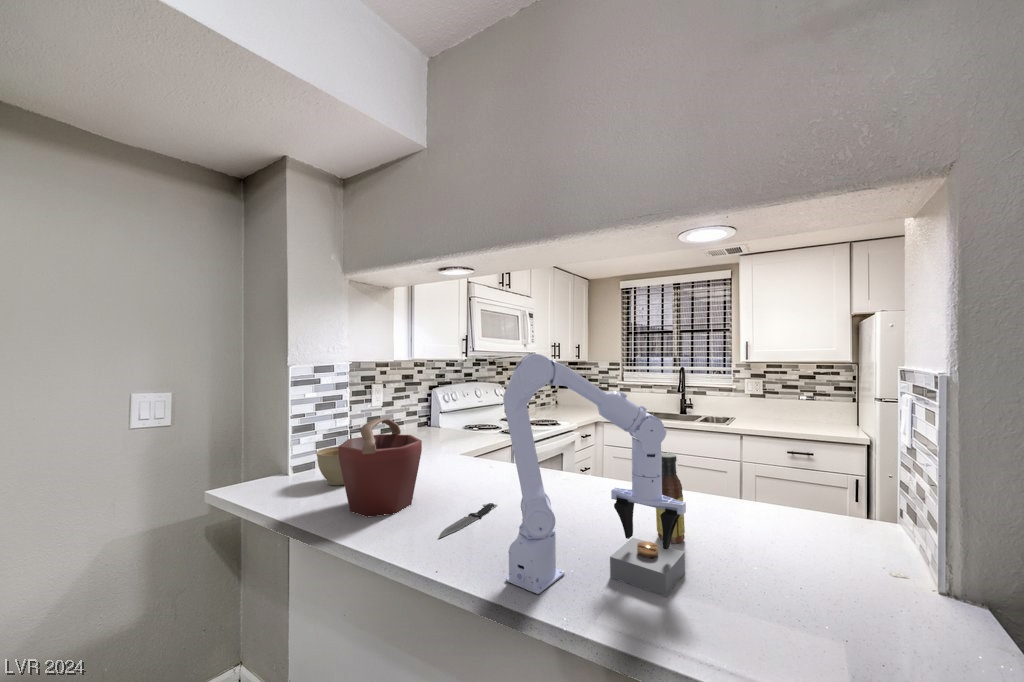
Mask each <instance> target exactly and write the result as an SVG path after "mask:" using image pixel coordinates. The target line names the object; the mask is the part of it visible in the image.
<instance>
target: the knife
mask: <svg viewBox="0 0 1024 682" xmlns="http://www.w3.org/2000/svg"><path fill="white" fill-rule="evenodd" d="M497 506H498V504H494V503H493V502H492V503H491V502H490V503H484V504H483V507H482V508H481V509H479V510H478V511H477V512H471V513H469V514H468V516H463V517H462V518H460V519H459V520H456V521H455V522H454V523H452V524H451V525H449V526H447V527H446V528H444V529H443V530H442V531H441V532H440V535H439V537H438V539H441V538H443V537H446V536H447V535H450V534H452V533H454V532H456V531H459V530H461V529H463V528H465V527H466V526H468V525H470V524H471V523H473V522H475V521H477V520H482V518H483V516H485V515H487V514H489V512H491V510H493V509H495V508H497Z"/></svg>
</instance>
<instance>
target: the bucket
mask: <svg viewBox="0 0 1024 682" xmlns="http://www.w3.org/2000/svg"><path fill="white" fill-rule="evenodd" d="M381 423H384V424H385V425H386V426H388V427H389V429H390V430H391V434H384V433H383V434H382V433H381V434H380V433H379V434H374V433H373V429H374V428H375V427H377V425H379V424H381ZM359 431H360V435H361V437H353V438H348V439H347V440H345V441H344V442H342V444H340V445H338V446H339V461H340V466H341V471H342V476H343V480H344V485H343V486H344V489H345V490H344V491H345V494H346V498H347V499H346V500H347V502H348V503H347V504H348V509H349V512H350V511H351V512H350V513H352V512H354V513H353V514H356V513H358V514H357V515H359V514H361V515H360V516H362V515H364V516H363V517H365V516H367V517H366V518H369V517H368V516H374V517H378V516H377V515H382V516H385V515H384V514H390V515H394V514H393V513H397V512H398V513H400V512H402V511H403V510H405V509H406V507H407V506H408V507H410V506H412V505H413V504H412V503H413V498H414V492H415V489H416V488H415V487H416V483H417V478H418V477H417V476H418V471H419V468H420V467H419V466H420V460H421V455H422V449H423V448H422V447H423V446H422V445H423V444H422V442H423V441H422V440H421V439H420V438H417V437H415V436H414V435H411V434H401V428H400V426H399V424H398V423H396V422H395V420H392V419H391V418H385V417H384V418H381V417H380V418H379V417H378V418H375V419H372V420H369V421H368V422H366V423H365V424H363V425H362V426H361V427H360V428H359ZM409 505H410V506H409ZM408 507H407V508H408ZM404 508H405V509H404ZM402 509H403V510H402ZM401 510H402V511H401ZM399 511H400V512H399ZM398 513H397V514H398Z"/></svg>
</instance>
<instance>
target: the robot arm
mask: <svg viewBox="0 0 1024 682" xmlns="http://www.w3.org/2000/svg"><path fill="white" fill-rule="evenodd" d="M547 384H550V385H552V386H555V387H556V386H563V387H567V388H568V389H570V390H571V391H573V392H575V393H577V394H578V395H580V396H581V397H583V398H585V399H586V400H588V401H590V402H592V404H594V405H596V407H597V410H598V414H599V415H600V416H601V417H602V418H604V419H605V420H607V421H608V422H610V423H611V424H613V425H615V426H616V427H618V428H619V429H621V430H623V431H624V432H626V433H629V435H630V436H631V488H620V487H614V488H612V489H611V492H610V493H611V494H610V495H611V497H610V498H611V500H614V501H615V500H616V501H615V503H613V507H614V510H615V511H616V512H617V515H618V517H619V519H620V522H621V525H622V528H623V532H624V535H625V539H626V540H630V539H631V538H633V536H634V535H633V534H634V509H635V504H636V505H642V506H647V507H651V508H655V509H656V508H659V509H663V510H665V512H663V513H662V514H661V515H660V517H661V522H662V529H663V540H662V546H663V549H666V550H667V549H668V548H671V544H672V543H671V538H672V534H673V531H674V528H675V525H676V523H677V521H678V519H679V517H680V515H683V514H684V515H685V514H686V511H687V509H686V508H687V507H686V506H687V503H686V502H685V501H684V500H683V501H679V500H676V499H673V498H670V497H667V496H664V495H662V453H663V452H662V443H663V442H664V440H665V438H666V436H667V430H666V429H665V425H664V423H663V421H662V420H661V419H660V418H659V417H657V416H655V415H653V414H651V413H649V412H648V411H647V408H646V407H645V406H643V405H640V406H639V405H637V404H636V403H635V402H633V401H632V400H630V399H628V398H627V397H628V394H626V393H625V392H623V391H619V392H618V391H616V390H612V391H608V392H607V391H606V392H605V391H604V390H603V389H601V388H599V387H598V386H596V385H595V384H594V383H592V382H591V381H589V380H588V379H586V378H585V377H583V376H582V375H580V374H579V373H577V372H576V371H575V370H574V369H572V368H570V367H568V366H566V365H564V364H562V363H559V362H557V361H555V360H553V359H549V358H548V357H547V356H545V355H544V354H540V353H529V354H527V355H525V356H524V357H523V358H522V359H521V360H520V361H519V362H518V363H517V364H516V366H515V367H514V369H513V372H512V375H511V377H510V379H509V382H508V383H507V386H506V389H505V391H504V393H503V397H502V398H503V400H502V401H503V406H504V411H505V416H506V420H507V427H508V430H509V431H508V432H509V437H510V441H511V445H512V446H511V447H512V451H513V455H514V461H515V467H516V470H517V475H518V479H519V484H520V485H519V486H520V491H521V501H520V510H521V515H522V520H521V524H520V525H519V527H518V535H517V536H516V539H514V541H513V542H511V544H510V545H509V548H508V575H507V576H506V577H505V582H508V583H510V584H513V585H515V586H518V587H520V588H522V589H525V590H527V591H529V592H531V593H534V594H536V595H539V594H541V593H542V592H543V591H545V589H547V588H548V587H550V586H552V584H554V583H555V582H556V581H557V580H559V579H560V578H562V577H563V576H564V575H565V574H566V573H565V570H562V569H560V568H557V563H556V562H557V561H556V560H557V556H556V555H557V553H556V552H557V550H556V549H557V547H556V545H557V543H556V538H557V537H556V532H557V531H556V517H555V514H554V511H553V509H552V503H551V499H550V498H549V495H547V493H546V492H545V488H544V484H543V478H542V473H541V469H540V462H539V459H538V458H539V457H538V454H537V448H536V444H535V440H534V439H535V437H534V434H533V429H532V424H531V418H530V414H529V409H528V403H529V402H530V401H531V399H533V397H534V395H535V394H536V392H538V391H539V390H541V389H542V388H544V387H545V386H546V385H547Z"/></svg>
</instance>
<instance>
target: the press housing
mask: <svg viewBox="0 0 1024 682" xmlns="http://www.w3.org/2000/svg"><path fill="white" fill-rule="evenodd" d="M643 541H644V539H643V540H642V539H639V538H635V537H631V538H629V539H628V541H627V542H626V543H625V544H623V545H622V546H621V547H619V549H617V550H616V551H614V553H613V554H612V555H610V556H609V578H612V579H614V580H617V581H621V582H623V583H625V584H629V585H632V586H635V587H637V586H638V587H637V588H641V589H644V590H646V591H648V592H649V591H650V592H652V593H655V594H657V595H661V596H664V597H667V596H668V595H669V594H670V592H671V591H672V590H673V588H674V587H675V586H676V585H677V583H678V582H679V580H681V578H682V577H683V576H684V574H685V573H686V560H685V559H686V552H685V551H682V550H680V549H675V548H671V547H669V548H668V549H667V550H666V549H663V545H661V544H657V543H655V544H656V545H657V546H658V556H657V557H653V558H651V559H649V558H646V557H643V556H641V555H639V554H638V553H637V544H638V543H639V542H643Z"/></svg>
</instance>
